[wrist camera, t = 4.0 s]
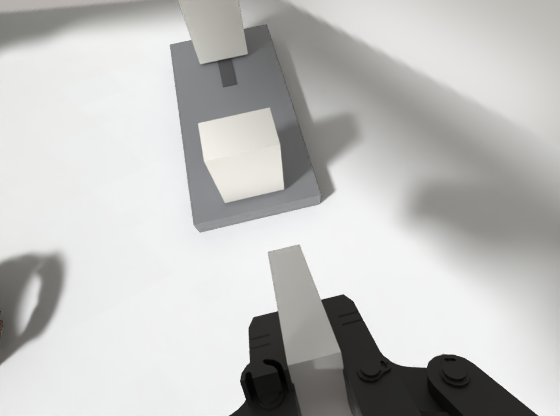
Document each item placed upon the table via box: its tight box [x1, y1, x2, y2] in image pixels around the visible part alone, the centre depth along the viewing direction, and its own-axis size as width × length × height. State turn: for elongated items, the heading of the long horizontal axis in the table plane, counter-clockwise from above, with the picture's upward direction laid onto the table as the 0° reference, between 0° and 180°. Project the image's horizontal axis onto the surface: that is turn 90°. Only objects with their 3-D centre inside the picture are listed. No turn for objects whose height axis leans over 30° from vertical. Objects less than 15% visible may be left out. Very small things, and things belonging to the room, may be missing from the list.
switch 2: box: [198, 107, 284, 203], centre depth 27 cm, size 4×6×7 cm, turn 103°
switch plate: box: [170, 24, 321, 232], centre depth 36 cm, size 27×12×2 cm, turn 13°
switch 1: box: [178, 0, 248, 64], centre depth 35 cm, size 4×6×7 cm, turn 103°
